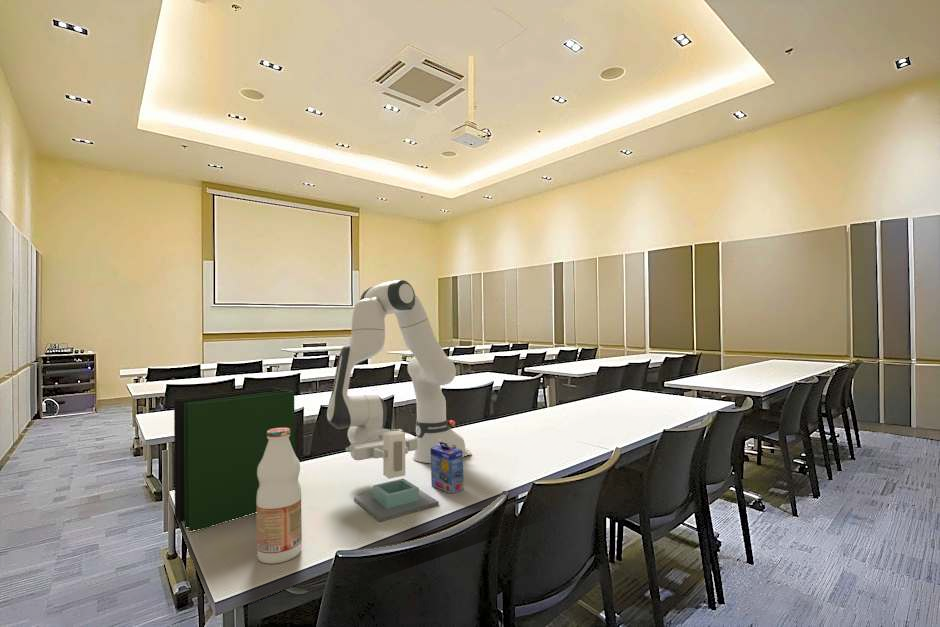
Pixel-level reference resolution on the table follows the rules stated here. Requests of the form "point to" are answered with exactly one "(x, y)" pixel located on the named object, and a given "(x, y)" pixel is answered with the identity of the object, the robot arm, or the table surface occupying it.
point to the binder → (224, 451)
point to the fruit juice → (278, 500)
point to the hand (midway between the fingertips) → (395, 453)
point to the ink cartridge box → (447, 468)
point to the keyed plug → (394, 454)
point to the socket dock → (395, 500)
